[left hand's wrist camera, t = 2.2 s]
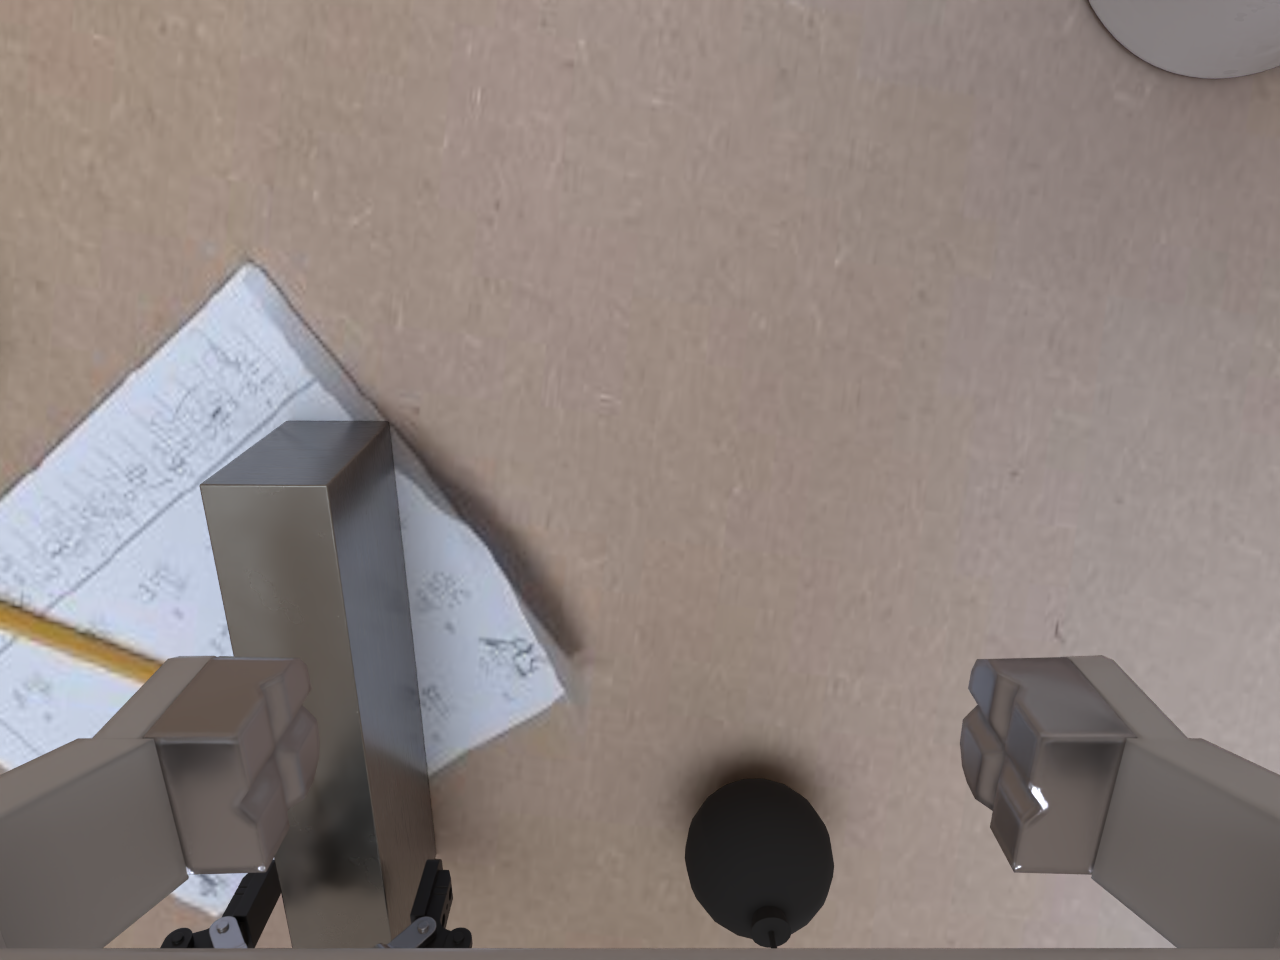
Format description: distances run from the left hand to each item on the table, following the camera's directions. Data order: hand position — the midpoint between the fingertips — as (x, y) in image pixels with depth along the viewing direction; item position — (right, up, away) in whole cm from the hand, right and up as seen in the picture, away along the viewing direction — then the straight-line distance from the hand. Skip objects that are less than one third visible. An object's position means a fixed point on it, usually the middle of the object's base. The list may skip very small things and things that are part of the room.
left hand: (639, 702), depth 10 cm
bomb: (+6, -16, +39) cm, 42 cm away
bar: (-15, -7, +35) cm, 39 cm away
